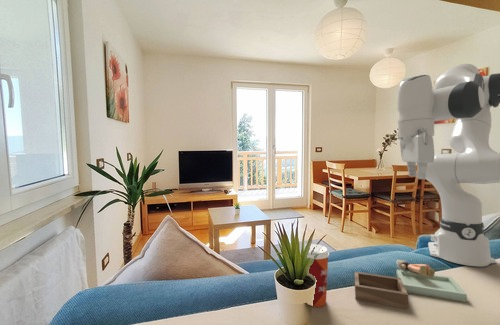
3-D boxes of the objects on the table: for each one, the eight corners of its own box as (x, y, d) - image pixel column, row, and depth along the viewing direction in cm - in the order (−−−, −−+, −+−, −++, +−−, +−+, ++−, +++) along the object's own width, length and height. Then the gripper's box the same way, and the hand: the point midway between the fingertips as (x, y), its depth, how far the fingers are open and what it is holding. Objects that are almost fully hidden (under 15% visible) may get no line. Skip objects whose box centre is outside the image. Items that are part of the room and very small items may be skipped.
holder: (354, 283, 72) (354, 271, 72) (400, 290, 68) (400, 278, 68) (355, 299, 64) (355, 286, 64) (408, 308, 59) (408, 294, 59)
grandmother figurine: (419, 260, 70) (390, 253, 82) (415, 273, 69) (387, 264, 81) (443, 271, 70) (410, 262, 82) (439, 284, 69) (407, 273, 81)
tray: (396, 275, 76) (396, 269, 76) (451, 283, 71) (451, 276, 71) (403, 291, 67) (403, 284, 67) (466, 302, 62) (466, 294, 62)
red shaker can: (332, 311, 59) (331, 254, 59) (300, 308, 60) (299, 252, 60) (328, 293, 67) (327, 243, 67) (300, 291, 68) (299, 242, 68)
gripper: (441, 126, 60) (442, 180, 60) (418, 133, 79) (419, 175, 79) (412, 128, 62) (413, 180, 63) (396, 134, 81) (397, 175, 82)
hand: (416, 177), depth 71 cm, fingers open, 8 cm apart
